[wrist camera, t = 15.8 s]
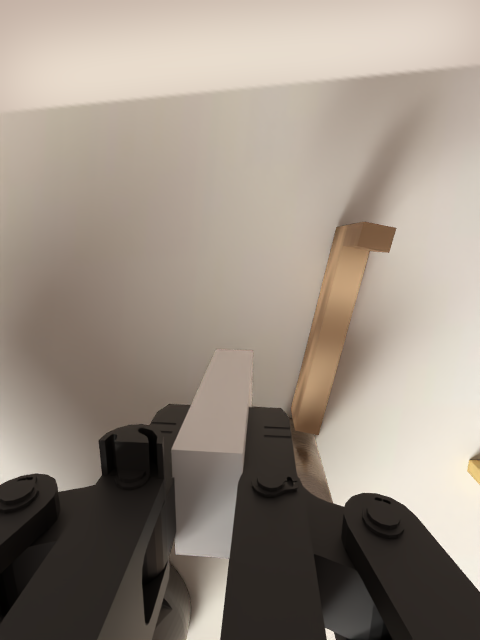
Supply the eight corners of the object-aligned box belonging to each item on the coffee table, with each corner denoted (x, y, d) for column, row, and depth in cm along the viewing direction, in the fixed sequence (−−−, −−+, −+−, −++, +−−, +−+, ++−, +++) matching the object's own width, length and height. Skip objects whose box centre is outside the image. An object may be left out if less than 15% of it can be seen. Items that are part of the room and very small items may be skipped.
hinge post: (270, 454, 27) (277, 595, 16) (272, 415, 26) (280, 536, 15) (313, 456, 26) (349, 600, 16) (316, 417, 26) (356, 541, 15)
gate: (311, 412, 25) (327, 464, 19) (290, 408, 25) (300, 458, 19) (360, 231, 22) (396, 227, 16) (336, 227, 22) (363, 221, 16)
